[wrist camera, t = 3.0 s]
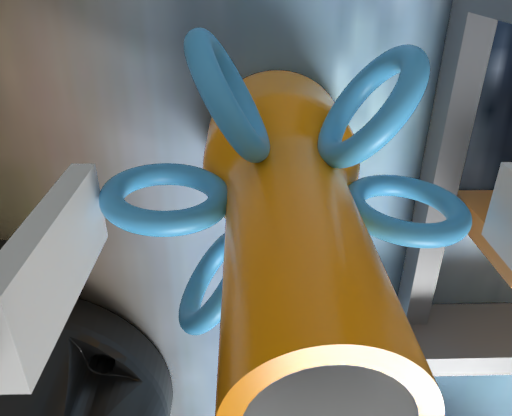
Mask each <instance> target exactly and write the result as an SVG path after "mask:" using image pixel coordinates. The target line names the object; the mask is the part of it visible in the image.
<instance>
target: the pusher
mask: <svg viewBox="0 0 512 416" xmlns="http://www.w3.org/2000/svg"><path fill="white" fill-rule="evenodd" d="M492 194H493V190H458V194H457V197H458V198H460V199H461V200H462V201H463V202H464V203H465V204H466V206H467V207H468V209H469V210H470V213H471V216H472V226H471V229H470V231H469V233H468V235H469V237H470V238H471V239H472V240H473V242H474V243H475V244H476V245H477V247H478V248H479V249H480V250H481V252H482V253H483V254H484V255H485V257H486V258H487V259H488V260H489V262H490V263H491V264H492V265H493V267H494V268H495V269H496V270H497V272H498V273H499V274H500V275H501V277H502V278H503V279H504V280H505V282H506V283H507V284H508V285H509V287H510V288H511V289H512V271H511V269H510V268H509V267H508V266H507V265H506V263H505V262H504V261H503V260H502V259H501V257H500V256H499V255H498V254H497V253H496V251H495V250H494V249H493V248H492V246H491V245H490V244H489V243H488V242H487V240H486V239H485V238H484V237H483V236H482V230H483V226H484V223H485V219H486V215H487V212H488V208H489V205H490V201H491V197H492Z"/></svg>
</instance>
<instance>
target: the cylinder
mask: <svg viewBox="0 0 512 416" xmlns="http://www.w3.org/2000/svg"><path fill="white" fill-rule="evenodd" d="M184 53H185V58H186V61H187V65H188V68H189V70H190V73H191V75H192V78H193V80H194V83H195V85H196V87H197V89H198V91H199V93H200V96H201V98H202V100H203V101H204V103H205V105H206V107H207V109H208V111H209V113H210V114H211V116H212V117H211V121H210V125H209V130H208V135H207V141H206V146H205V152H204V159H203V169H202V168H199V167H195V166H190V165H184V164H172V163H162V164H150V165H143V166H138V167H134V168H131V169H128V170H125V171H123V172H121V173H119V174H117V175H115V176H114V177H112V178H111V179H109V180H108V181H107V182H106V183H105V185H104V186H103V187H102V189H101V191H100V194H99V207H100V209H101V212H102V213H103V215H104V216H105V217H106V218H107V219H108V220H109V221H110V222H111V223H112V224H114V225H115V226H117V227H119V228H121V229H123V230H126V231H128V232H132V233H135V234H140V235H145V236H154V237H173V236H182V235H187V234H192V233H196V232H199V231H202V230H204V229H207V228H209V227H211V226H213V225H214V224H216V223H217V222H219V221H220V220H221V219H222V218H223V217H224V218H225V219H226V224H225V233H224V234H223V235H222V236H221V237H219V238H218V239H217V240H216V241H215V242H214V244H213V245H212V246H211V247H210V248H209V249H208V251H207V252H206V253H205V255H204V256H203V258H202V259H201V260H200V262H199V264H198V265H197V267H196V269H195V270H194V272H193V274H192V276H191V278H190V280H189V282H188V284H187V286H186V288H185V291H184V294H183V296H182V300H181V303H180V308H179V322H180V325H181V327H182V329H183V330H184V331H185V332H186V333H188V334H191V335H200V334H203V333H206V332H207V331H209V330H211V329H212V328H213V327H215V326H216V325H217V324H218V323H219V322H220V338H219V356H218V374H217V392H216V410H215V416H445V407H444V401H443V397H442V394H441V392H440V389H439V387H438V385H437V383H436V381H435V378H434V376H433V374H432V372H431V369H430V367H429V365H428V363H427V361H426V358H425V356H424V354H423V352H422V350H421V347H420V345H419V343H418V341H417V339H416V336H415V334H414V332H413V330H412V328H411V325H410V323H409V321H408V319H407V317H406V314H405V312H404V310H403V308H402V306H401V303H400V301H399V299H398V297H397V294H396V292H395V290H394V288H393V286H392V283H391V281H390V279H389V277H388V275H387V272H386V270H385V268H384V266H383V264H382V261H381V259H380V257H379V255H378V252H377V250H376V248H375V246H374V244H373V241H372V239H371V237H370V235H372V236H374V237H376V238H378V239H381V240H383V241H386V242H389V243H393V244H397V245H401V246H406V247H413V248H440V247H446V246H449V245H452V244H455V243H457V242H459V241H461V240H462V239H463V238H464V237H466V235H467V234H468V233H469V231H470V229H471V226H472V216H471V213H470V210H469V209H468V207H467V206H466V204H465V203H464V202H463V201H462V200H461V199H460V198H458V197H457V196H456V195H454V194H453V193H451V192H450V191H448V190H446V189H444V188H442V187H440V186H437V185H435V184H432V183H429V182H426V181H423V180H419V179H415V178H411V177H405V176H397V175H375V176H368V177H364V178H361V179H358V177H359V170H360V163H361V162H363V161H364V160H366V159H368V158H369V157H371V156H372V155H374V154H375V153H376V152H378V151H379V150H380V149H381V148H382V147H384V146H385V145H386V144H387V143H388V142H389V141H390V140H391V139H392V138H393V137H394V136H395V135H396V134H397V133H398V132H399V130H400V129H401V128H402V127H403V126H404V124H405V123H406V122H407V121H408V119H409V118H410V117H411V115H412V114H413V112H414V111H415V109H416V107H417V106H418V104H419V102H420V100H421V98H422V96H423V94H424V92H425V90H426V87H427V84H428V80H429V75H430V63H429V59H428V56H427V55H426V53H425V52H424V51H423V50H422V49H421V48H419V47H417V46H414V45H401V46H397V47H394V48H392V49H390V50H388V51H386V52H384V53H383V54H381V55H380V56H378V57H377V58H375V59H374V60H373V61H372V62H370V63H369V64H368V65H367V66H366V67H365V68H364V69H362V70H361V71H360V72H359V73H358V74H357V75H356V76H355V78H354V79H353V80H352V81H351V82H350V83H349V84H348V85H347V87H346V88H345V89H344V90H343V92H342V93H341V94H340V96H339V97H338V98H337V100H336V101H335V102H334V101H333V99H332V98H331V97H330V95H329V94H328V93H327V92H326V91H325V89H324V88H322V87H321V86H320V85H319V84H318V83H316V82H315V81H313V80H312V79H310V78H308V77H306V76H304V75H301V74H299V73H296V72H291V71H285V70H270V71H263V72H259V73H256V74H253V75H250V76H248V77H246V78H244V79H242V77H241V76H240V74H239V72H238V70H237V69H236V67H235V65H234V63H233V62H232V60H231V59H230V57H229V55H228V54H227V52H226V51H225V49H224V48H223V46H222V45H221V44H220V42H219V41H218V40H217V39H216V37H215V36H214V35H213V34H212V33H211V32H209V31H208V30H206V29H204V28H194V29H192V30H190V31H189V32H188V33H187V35H186V37H185V39H184ZM398 73H400V76H399V78H398V81H397V83H396V85H395V87H394V89H393V91H392V92H391V94H390V96H389V97H388V99H387V100H386V102H385V103H384V104H383V106H382V107H381V108H380V109H379V111H378V112H377V113H376V114H375V115H374V117H373V118H372V119H371V120H370V121H369V122H368V123H367V124H366V125H365V126H364V127H363V128H361V129H360V130H359V131H358V132H357V133H355V134H353V132H352V130H351V128H350V127H349V125H348V124H349V122H350V120H351V119H352V117H353V115H354V114H355V112H356V111H357V110H358V108H359V107H360V106H361V104H362V103H363V102H364V101H365V100H366V99H367V97H368V96H369V95H370V94H371V93H372V92H373V91H374V90H375V89H376V88H378V87H379V86H380V85H381V84H382V83H384V82H385V81H386V80H388V79H389V78H391V77H392V76H394V75H396V74H398ZM156 185H180V186H186V187H190V188H194V189H197V190H199V191H201V192H203V193H204V194H206V195H207V196H208V199H207V200H206V201H205V202H203V203H201V204H199V205H197V206H194V207H191V208H187V209H182V210H174V211H155V210H147V209H142V208H138V207H135V206H133V205H131V204H129V203H127V202H126V201H125V200H124V198H125V197H126V196H127V195H128V194H130V193H132V192H133V191H136V190H138V189H141V188H145V187H149V186H156ZM375 196H398V197H404V198H409V199H413V200H416V201H419V202H422V203H424V204H427V205H429V206H431V207H433V208H435V209H436V210H438V211H439V212H441V213H442V214H443V215H444V216H445V217H446V220H445V221H442V222H437V223H415V222H409V221H404V220H400V219H396V218H393V217H390V216H387V215H385V214H382V213H380V212H378V211H376V210H375V209H373V208H372V207H370V206H369V205H368V204H367V203H366V202H365V200H366V199H368V198H371V197H375ZM369 234H370V235H369ZM223 262H224V264H223V278H222V280H221V282H220V284H219V285H218V287H217V288H216V290H215V291H214V293H213V294H212V296H211V297H210V298H209V300H208V301H207V302H206V303H205V304H204V305H203V306H202V307H201V308H200V306H201V302H202V299H203V296H204V294H205V291H206V289H207V287H208V285H209V283H210V281H211V279H212V278H213V276H214V274H215V273H216V271H217V270H218V268H219V267H220V265H221V264H222V263H223Z"/></svg>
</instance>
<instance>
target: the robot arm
mask: <svg viewBox="0 0 512 416" xmlns="http://www.w3.org/2000/svg"><path fill="white" fill-rule="evenodd" d="M99 194H100V188H99V183H98V177H97V171H96V166H95V164H71V165H70V166H69V167H68V168H67V170H66V171H65V172H64V173H63V174H62V176H61V177H60V178H59V179H58V180H57V182H56V183H55V184H54V185H53V186H52V188H51V189H50V190H49V191H48V193H47V194H46V195H45V196H44V197H43V199H42V200H41V201H40V202H39V203H38V205H37V206H36V207H35V208H34V210H33V211H32V212H31V213H30V214H29V216H28V217H27V218H26V219H25V220H24V222H23V223H22V224H21V225H20V227H19V228H18V229H17V230H16V231H15V233H14V234H13V235H12V236H11V237H10V239H9V240H0V416H170V411H171V405H172V397H173V389H172V382H171V377H170V374H169V371H168V368H167V366H166V364H165V362H164V360H163V358H162V357H161V355H160V353H159V352H158V351H157V349H156V348H155V347H154V346H153V344H152V343H151V342H150V341H149V340H148V339H147V338H146V337H145V336H144V335H143V334H142V333H141V332H140V331H138V330H137V329H136V328H135V327H134V326H132V325H131V324H130V323H128V322H127V321H125V320H124V319H122V318H121V317H119V316H117V315H115V314H114V313H112V312H110V311H108V310H106V309H104V308H102V307H100V306H97V305H95V304H93V303H90V302H87V301H84V300H81V299H78V297H79V295H80V293H81V291H82V289H83V287H84V285H85V283H86V281H87V279H88V277H89V275H90V273H91V271H92V268H93V266H94V264H95V262H96V260H97V258H98V256H99V254H100V252H101V250H102V248H103V246H104V244H105V242H106V240H107V238H108V234H107V228H106V222H105V217H104V215H103V213H102V212H101V209H100V207H99ZM482 236H483V237H484V238H485V239H486V240H487V242H488V243H489V244H490V245H491V246H492V248H493V249H494V250H495V251H496V253H497V254H498V255H499V256H500V257H501V259H502V260H503V261H504V262H505V263H506V265H507V266H508V267H509V268H510V269H511V271H512V162H501V164H500V168H499V172H498V175H497V179H496V183H495V186H494V190H493V194H492V197H491V201H490V205H489V208H488V212H487V215H486V219H485V223H484V226H483V230H482Z"/></svg>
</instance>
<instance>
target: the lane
mask: <svg viewBox="0 0 512 416" xmlns="http://www.w3.org/2000/svg"><path fill="white" fill-rule="evenodd" d="M498 20H500V21H503V22H507V23H511V24H512V0H453V2H452V7H451V12H450V18H449V23H448V28H447V34H446V39H445V45H444V50H443V55H442V61H441V66H440V71H439V77H438V82H437V88H436V93H435V98H434V104H433V109H432V114H431V120H430V125H429V131H428V136H427V141H426V147H425V152H424V157H423V163H422V168H421V173H420V179H419V180H423V181H426V182H429V183H432V184H435V185H437V186H440V187H442V188H444V189H446V190H448V191H450V192H451V193H453V194H454V195H456V196H457V194H458V190H459V186H460V181H461V177H462V173H463V168H464V164H465V160H466V155H467V151H468V147H469V143H470V138H471V134H472V130H473V125H474V121H475V117H476V112H477V108H478V104H479V100H480V95H481V91H482V87H483V82H484V78H485V74H486V70H487V65H488V61H489V57H490V52H491V48H492V44H493V39H494V35H495V31H496V27H497V22H498ZM445 220H446V217H445V216H444V215H443V214H442V213H441V212H439V211H438V210H436V209H435V208H433V207H431V206H429V205H427V204H424V203H422V202H419V201H416V200H415V206H414V211H413V216H412V222H415V223H437V222H442V221H445ZM444 250H445V247H440V248H413V247H407V249H406V254H405V259H404V265H403V270H402V276H401V281H400V286H399V292H398V299H399V301H400V303H401V306H402V308H403V310H404V312H405V314H406V317H407V319H408V321H409V323H410V325H411V328H412V330H413V332H414V334H415V336H416V339H417V341H418V343H419V345H420V347H421V350H422V352H423V354H424V356H425V358H426V361H427V363H428V365H429V367H430V369H431V372H432V374H433V376H476V375H512V303H483V304H432V302H433V297H434V293H435V289H436V284H437V280H438V276H439V271H440V267H441V263H442V259H443V254H444Z"/></svg>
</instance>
